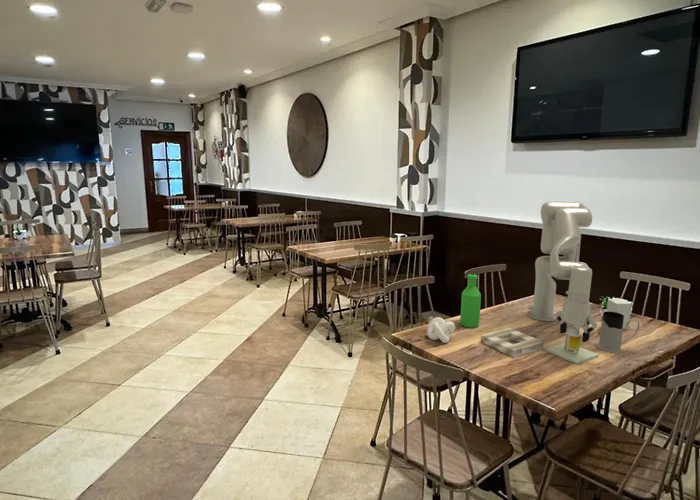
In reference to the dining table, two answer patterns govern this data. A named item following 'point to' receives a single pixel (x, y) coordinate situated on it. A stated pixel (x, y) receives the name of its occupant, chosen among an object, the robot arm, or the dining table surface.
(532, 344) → the beige square frame
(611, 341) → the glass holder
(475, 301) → the bottle
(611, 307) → the supplement box
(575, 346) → the supplement bottle
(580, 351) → the plate
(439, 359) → the dining table surface
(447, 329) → the white decorative knot
